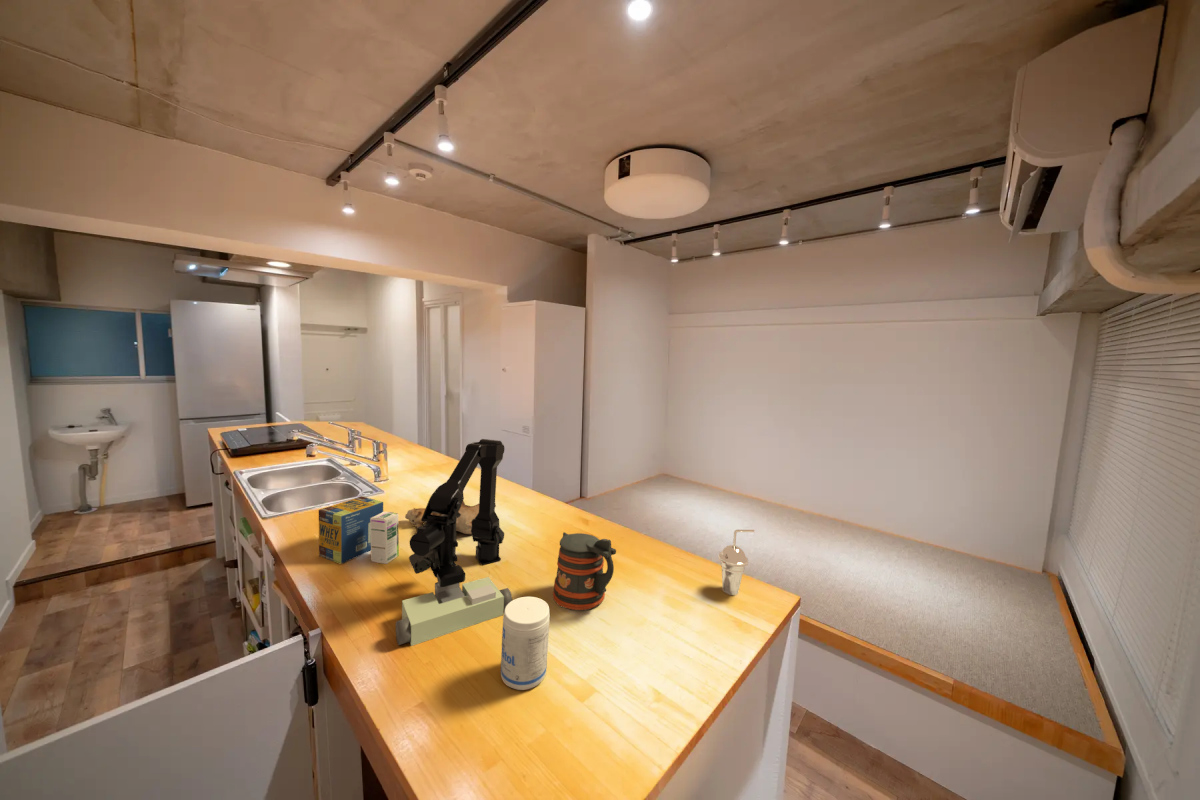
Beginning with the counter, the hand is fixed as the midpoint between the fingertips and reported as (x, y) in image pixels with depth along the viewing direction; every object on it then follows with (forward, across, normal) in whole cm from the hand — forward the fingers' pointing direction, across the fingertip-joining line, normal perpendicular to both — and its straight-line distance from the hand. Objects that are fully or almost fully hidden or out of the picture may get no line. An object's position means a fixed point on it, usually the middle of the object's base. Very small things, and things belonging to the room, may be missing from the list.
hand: (443, 591), depth 111 cm
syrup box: (+3, -30, -10) cm, 32 cm away
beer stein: (+1, +20, +33) cm, 39 cm away
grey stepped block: (+1, +6, 0) cm, 7 cm away
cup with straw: (0, +39, +73) cm, 83 cm away
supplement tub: (0, +36, +7) cm, 37 cm away
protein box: (+4, -41, -18) cm, 45 cm away
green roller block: (+1, +10, 0) cm, 11 cm away
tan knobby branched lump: (+4, -45, +14) cm, 48 cm away
